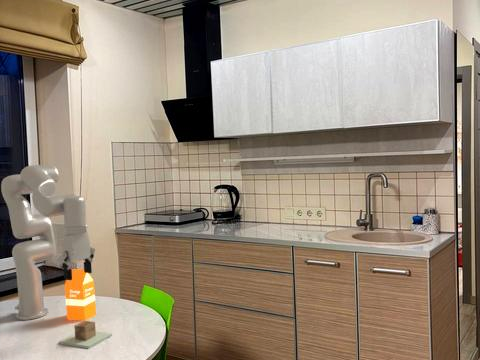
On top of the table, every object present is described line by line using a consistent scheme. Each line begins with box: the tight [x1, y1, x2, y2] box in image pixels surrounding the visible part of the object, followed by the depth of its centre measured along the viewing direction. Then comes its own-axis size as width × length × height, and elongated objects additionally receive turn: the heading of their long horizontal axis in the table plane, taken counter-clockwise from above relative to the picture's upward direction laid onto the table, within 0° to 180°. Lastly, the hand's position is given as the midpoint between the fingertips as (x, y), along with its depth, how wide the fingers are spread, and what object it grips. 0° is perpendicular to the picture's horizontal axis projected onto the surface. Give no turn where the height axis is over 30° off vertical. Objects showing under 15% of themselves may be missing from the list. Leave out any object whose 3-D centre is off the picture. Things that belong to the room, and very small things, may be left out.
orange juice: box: [64, 268, 97, 322], centre depth 201 cm, size 8×9×20 cm
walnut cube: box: [74, 320, 96, 341], centre depth 176 cm, size 5×5×5 cm
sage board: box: [58, 331, 113, 349], centre depth 176 cm, size 14×12×1 cm
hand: (78, 276), depth 179 cm, fingers open, 9 cm apart
